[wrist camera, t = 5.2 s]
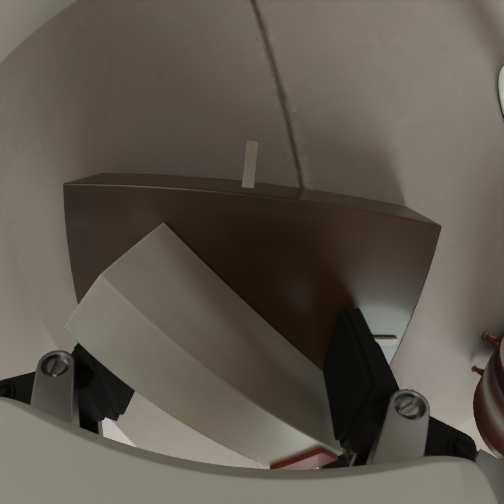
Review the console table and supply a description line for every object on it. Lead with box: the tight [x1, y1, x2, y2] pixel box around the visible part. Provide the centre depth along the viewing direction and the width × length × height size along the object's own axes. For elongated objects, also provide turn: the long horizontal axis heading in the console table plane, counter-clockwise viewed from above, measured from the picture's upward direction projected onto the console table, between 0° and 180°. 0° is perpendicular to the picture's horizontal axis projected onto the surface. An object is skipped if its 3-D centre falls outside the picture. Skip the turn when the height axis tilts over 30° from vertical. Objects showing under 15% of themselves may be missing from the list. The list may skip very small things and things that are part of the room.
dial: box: [64, 223, 343, 470], centre depth 8 cm, size 9×2×4 cm, turn 43°
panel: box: [63, 140, 441, 371], centre depth 11 cm, size 14×13×3 cm
